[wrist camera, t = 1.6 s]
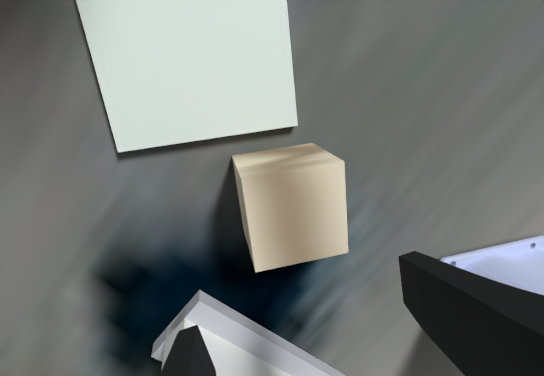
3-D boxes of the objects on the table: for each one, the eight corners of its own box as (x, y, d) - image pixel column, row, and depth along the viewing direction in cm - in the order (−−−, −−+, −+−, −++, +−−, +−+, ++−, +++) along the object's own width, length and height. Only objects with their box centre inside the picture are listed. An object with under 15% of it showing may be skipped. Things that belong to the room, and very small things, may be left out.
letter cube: (312, 142, 21) (344, 161, 16) (317, 218, 22) (348, 255, 18) (231, 155, 20) (241, 179, 15) (244, 232, 22) (255, 275, 17)
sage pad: (280, -31, 17) (283, -34, 17) (294, 124, 20) (297, 125, 19) (75, -15, 16) (70, -19, 15) (120, 150, 18) (117, 152, 18)
